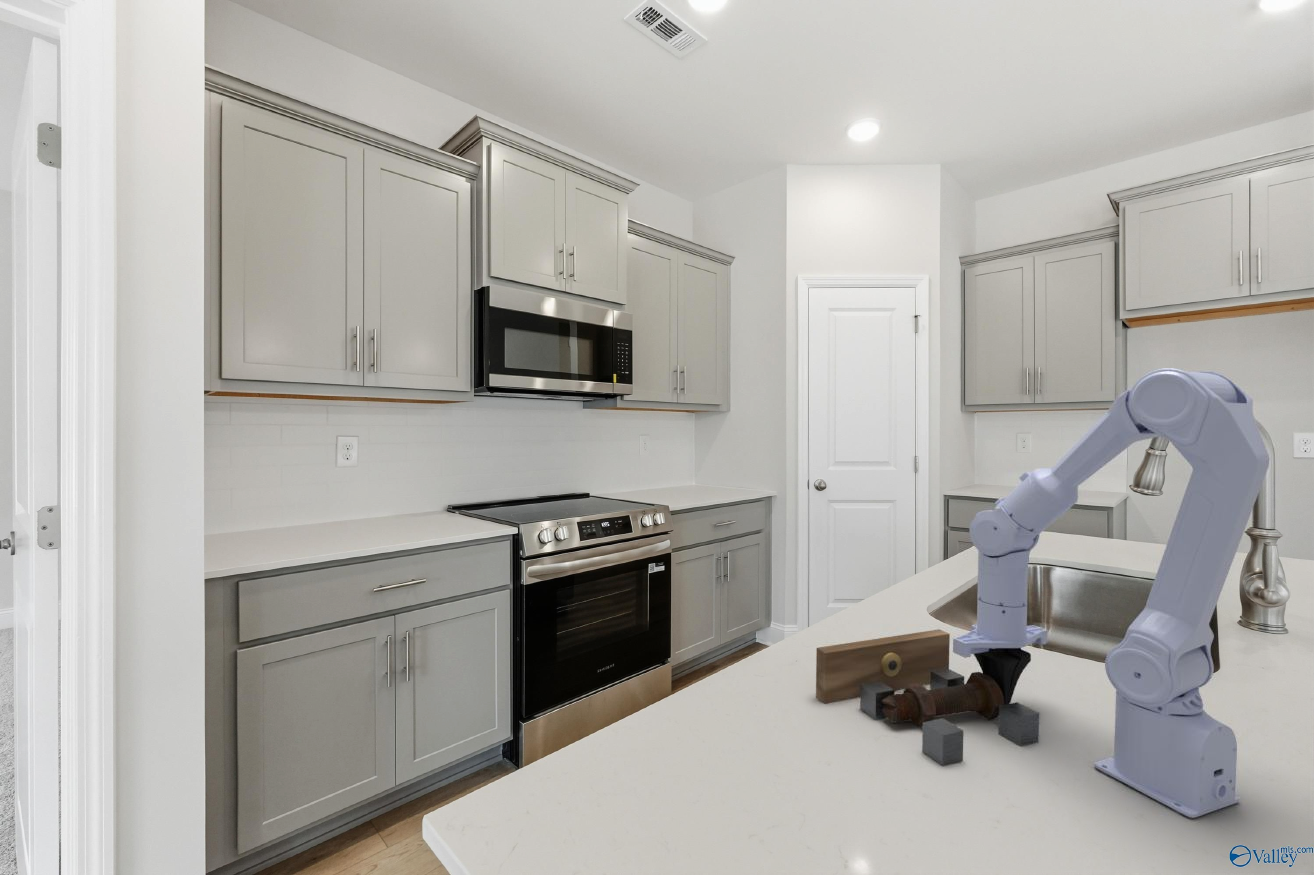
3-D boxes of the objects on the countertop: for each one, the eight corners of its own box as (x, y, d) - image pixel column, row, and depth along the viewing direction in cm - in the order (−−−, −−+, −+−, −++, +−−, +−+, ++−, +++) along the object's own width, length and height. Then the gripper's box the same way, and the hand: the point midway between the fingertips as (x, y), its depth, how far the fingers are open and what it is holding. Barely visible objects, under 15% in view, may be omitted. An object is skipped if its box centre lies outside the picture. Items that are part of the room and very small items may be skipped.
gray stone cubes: (1038, 741, 73) (1039, 713, 73) (942, 765, 68) (943, 735, 68) (946, 692, 86) (947, 668, 86) (860, 709, 81) (860, 683, 81)
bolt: (884, 735, 78) (985, 719, 81) (904, 733, 73) (1011, 717, 76) (871, 687, 80) (970, 673, 83) (890, 682, 76) (993, 668, 79)
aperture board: (952, 681, 90) (953, 635, 89) (827, 705, 82) (828, 654, 82) (938, 674, 92) (939, 629, 92) (815, 697, 85) (816, 647, 84)
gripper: (1015, 587, 86) (1012, 681, 87) (935, 597, 81) (933, 697, 82) (1063, 601, 79) (1060, 703, 80) (979, 613, 75) (977, 722, 75)
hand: (999, 702), depth 80 cm, fingers closed
